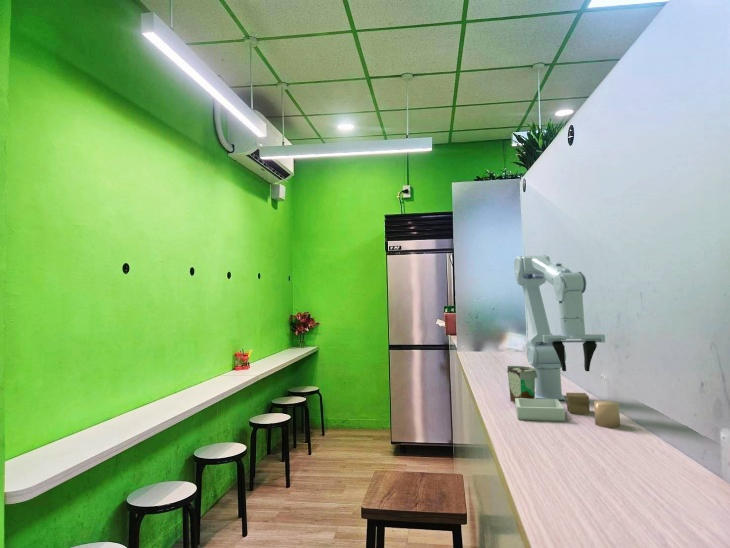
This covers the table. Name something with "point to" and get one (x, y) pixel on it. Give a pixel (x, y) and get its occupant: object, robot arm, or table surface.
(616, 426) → the beige rounded block
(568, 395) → the walnut block
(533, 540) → the table surface
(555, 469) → the table surface
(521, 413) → the counting tray
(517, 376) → the food container
